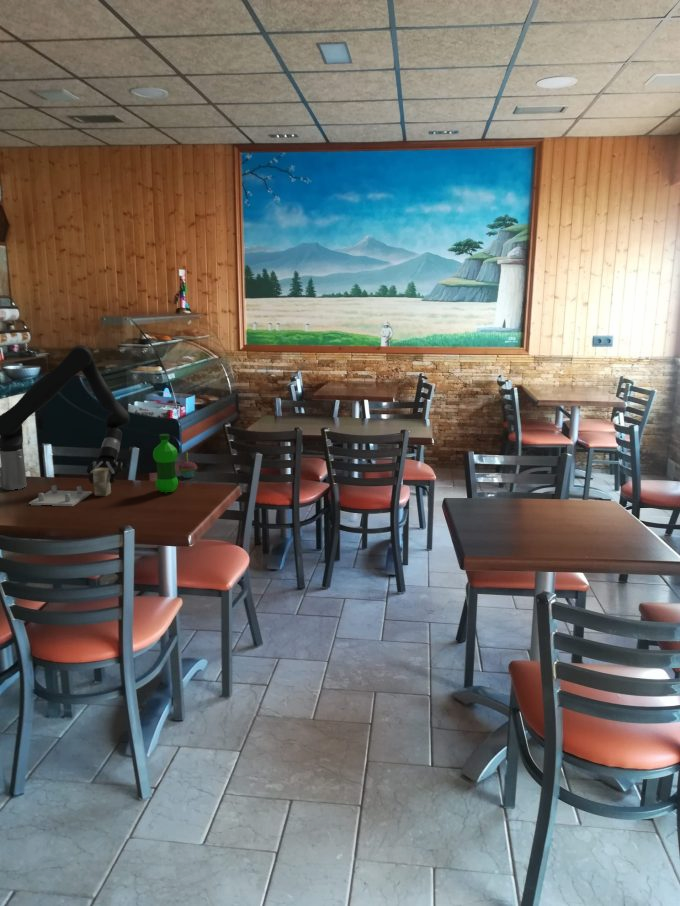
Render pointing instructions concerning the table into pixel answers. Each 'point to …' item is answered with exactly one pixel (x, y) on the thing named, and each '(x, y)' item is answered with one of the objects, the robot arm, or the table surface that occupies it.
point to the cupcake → (187, 468)
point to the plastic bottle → (165, 465)
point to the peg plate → (60, 497)
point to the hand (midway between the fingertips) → (101, 482)
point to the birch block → (101, 481)
